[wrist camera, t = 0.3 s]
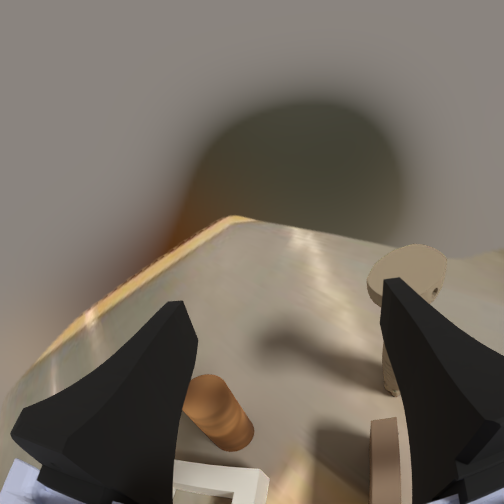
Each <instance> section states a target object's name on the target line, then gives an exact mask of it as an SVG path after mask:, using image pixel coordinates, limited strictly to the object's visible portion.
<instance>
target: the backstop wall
mask: <svg viewBox="0 0 504 504" xmlns="http://www.w3.org/2000/svg"><path fill="white" fill-rule="evenodd" d="M369 455H370V491H369V504H401V472H400V454H399V440H398V428H397V417H394V418H387V419H380V420H373V421H371V429H370V444H369Z"/></svg>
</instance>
